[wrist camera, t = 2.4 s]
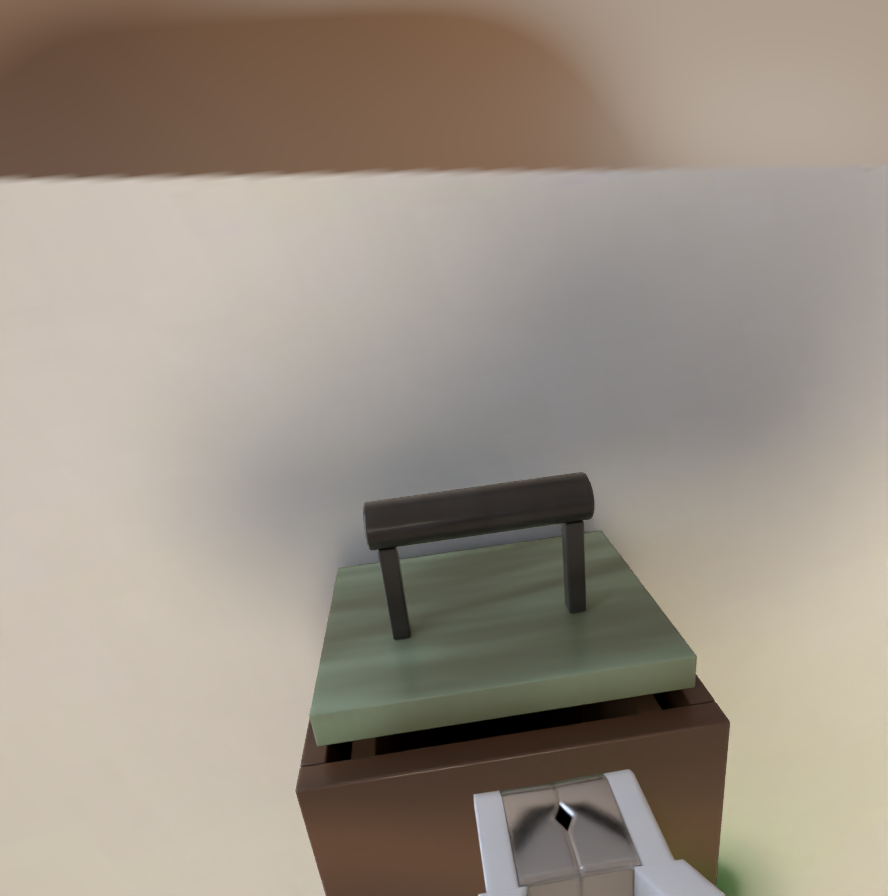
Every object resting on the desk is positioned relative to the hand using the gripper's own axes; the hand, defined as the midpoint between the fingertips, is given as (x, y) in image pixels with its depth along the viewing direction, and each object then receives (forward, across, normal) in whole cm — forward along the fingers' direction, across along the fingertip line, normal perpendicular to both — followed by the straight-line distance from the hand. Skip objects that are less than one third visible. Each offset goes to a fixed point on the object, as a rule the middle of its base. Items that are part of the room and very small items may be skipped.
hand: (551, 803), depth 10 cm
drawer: (+13, 0, +6) cm, 14 cm away
